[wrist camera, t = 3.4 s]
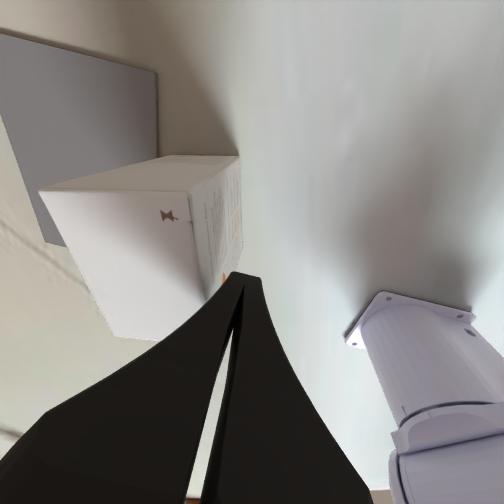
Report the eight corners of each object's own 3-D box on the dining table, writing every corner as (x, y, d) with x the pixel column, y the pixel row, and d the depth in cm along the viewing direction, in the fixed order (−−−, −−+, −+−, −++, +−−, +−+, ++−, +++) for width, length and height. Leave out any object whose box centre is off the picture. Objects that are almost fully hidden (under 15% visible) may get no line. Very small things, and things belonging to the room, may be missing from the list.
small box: (170, 153, 16) (26, 182, 7) (242, 154, 15) (189, 187, 6) (186, 245, 20) (109, 339, 11) (243, 248, 19) (212, 351, 10)
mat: (156, 73, 14) (154, 72, 13) (160, 268, 22) (159, 269, 21) (-25, 27, 13) (-31, 25, 13) (47, 240, 22) (45, 242, 21)
